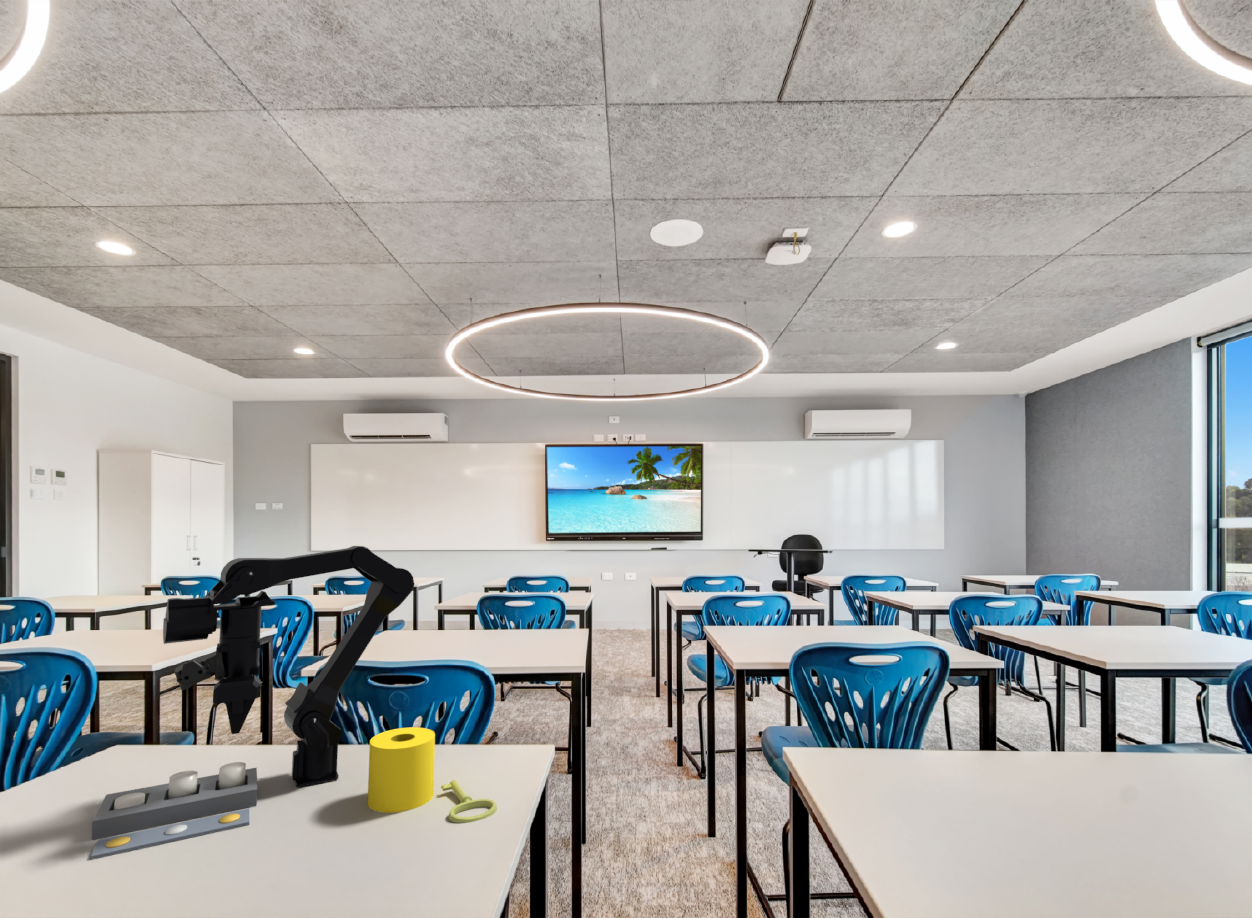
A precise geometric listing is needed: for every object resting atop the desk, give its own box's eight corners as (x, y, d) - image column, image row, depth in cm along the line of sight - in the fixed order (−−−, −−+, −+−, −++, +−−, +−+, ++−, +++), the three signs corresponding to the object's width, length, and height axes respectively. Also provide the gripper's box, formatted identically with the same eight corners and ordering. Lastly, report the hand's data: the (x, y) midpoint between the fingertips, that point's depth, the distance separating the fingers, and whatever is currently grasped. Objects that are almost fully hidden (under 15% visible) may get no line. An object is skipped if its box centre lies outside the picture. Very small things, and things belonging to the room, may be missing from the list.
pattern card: (249, 811, 96) (249, 806, 96) (249, 824, 91) (249, 820, 92) (98, 842, 86) (98, 838, 86) (90, 859, 82) (90, 854, 82)
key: (453, 791, 104) (454, 777, 104) (502, 813, 96) (503, 798, 96) (415, 807, 98) (416, 792, 98) (464, 831, 90) (465, 816, 91)
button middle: (197, 788, 99) (198, 768, 100) (195, 796, 96) (196, 776, 96) (169, 793, 97) (170, 773, 98) (166, 802, 94) (168, 781, 95)
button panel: (255, 782, 106) (256, 767, 106) (256, 805, 98) (257, 789, 98) (105, 811, 96) (106, 794, 96) (91, 839, 87) (92, 821, 87)
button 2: (244, 779, 103) (245, 760, 103) (244, 787, 100) (245, 767, 100) (218, 784, 101) (219, 764, 101) (217, 792, 98) (219, 772, 98)
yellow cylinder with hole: (353, 806, 97) (355, 743, 98) (398, 781, 107) (400, 724, 108) (403, 817, 94) (405, 752, 95) (446, 790, 103) (447, 731, 104)
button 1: (145, 810, 96) (146, 790, 96) (141, 820, 93) (143, 799, 93) (115, 816, 94) (116, 795, 94) (110, 826, 91) (112, 805, 91)
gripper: (185, 631, 106) (180, 725, 105) (174, 651, 90) (168, 762, 89) (260, 625, 112) (256, 714, 111) (263, 642, 96) (258, 747, 95)
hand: (235, 733), depth 101 cm, fingers closed
